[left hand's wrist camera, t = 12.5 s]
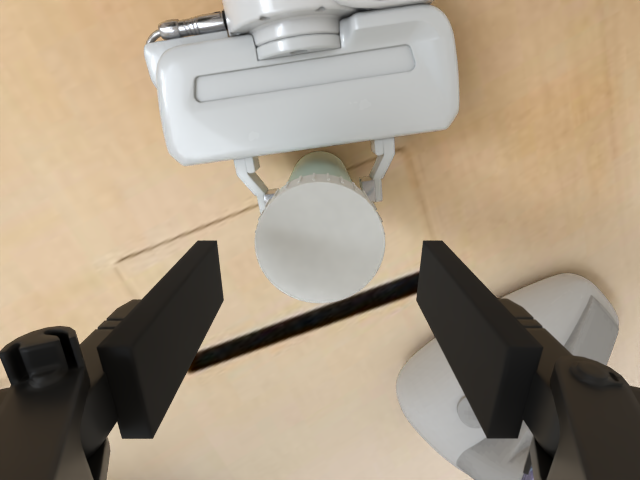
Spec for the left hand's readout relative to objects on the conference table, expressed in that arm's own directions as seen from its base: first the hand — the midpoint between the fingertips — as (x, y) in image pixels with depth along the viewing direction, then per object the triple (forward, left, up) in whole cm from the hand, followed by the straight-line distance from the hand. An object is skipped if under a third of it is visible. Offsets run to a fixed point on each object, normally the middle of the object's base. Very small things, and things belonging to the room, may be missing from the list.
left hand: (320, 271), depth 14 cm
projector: (-14, -24, -20) cm, 34 cm away
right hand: (-1, 0, -13) cm, 13 cm away
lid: (0, 0, -3) cm, 3 cm away
